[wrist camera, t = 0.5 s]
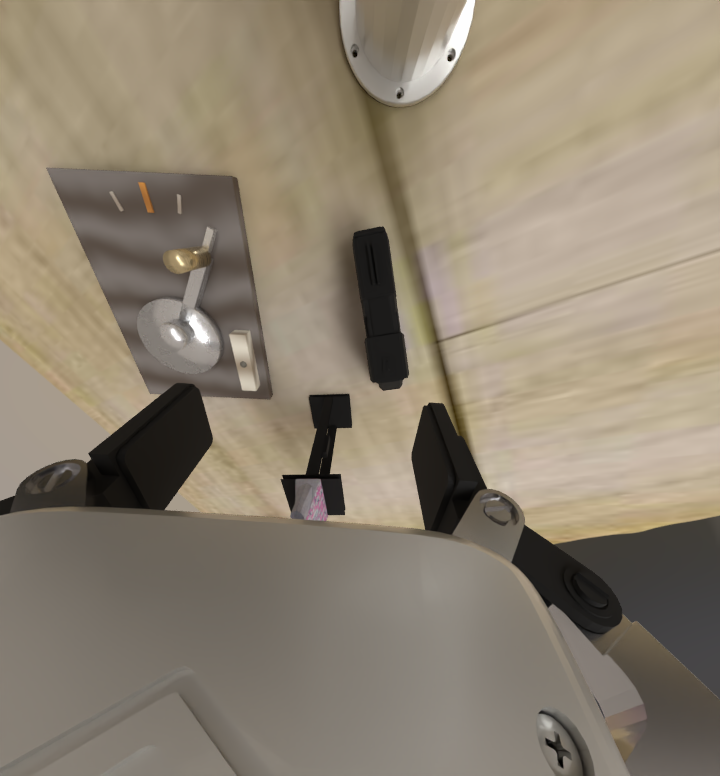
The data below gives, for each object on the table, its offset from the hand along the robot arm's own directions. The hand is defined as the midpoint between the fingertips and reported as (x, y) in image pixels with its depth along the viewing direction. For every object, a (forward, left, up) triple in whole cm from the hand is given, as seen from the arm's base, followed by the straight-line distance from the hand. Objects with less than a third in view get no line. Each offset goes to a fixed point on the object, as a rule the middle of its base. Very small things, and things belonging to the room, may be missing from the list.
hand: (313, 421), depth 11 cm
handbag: (+24, -3, -32) cm, 40 cm away
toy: (+5, +5, -32) cm, 33 cm away
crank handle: (+4, -23, -30) cm, 38 cm away
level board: (+5, -25, -32) cm, 41 cm away
